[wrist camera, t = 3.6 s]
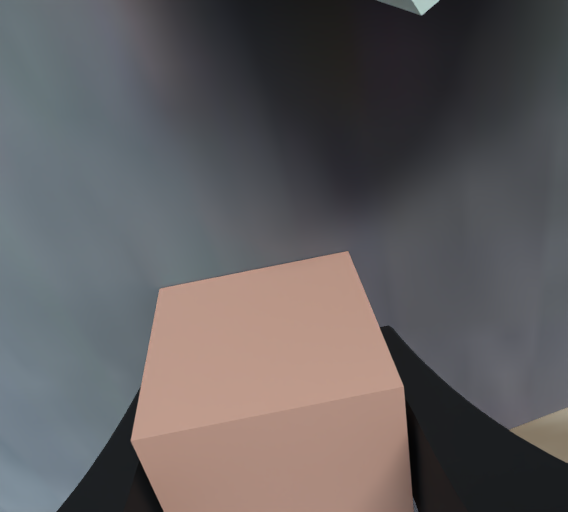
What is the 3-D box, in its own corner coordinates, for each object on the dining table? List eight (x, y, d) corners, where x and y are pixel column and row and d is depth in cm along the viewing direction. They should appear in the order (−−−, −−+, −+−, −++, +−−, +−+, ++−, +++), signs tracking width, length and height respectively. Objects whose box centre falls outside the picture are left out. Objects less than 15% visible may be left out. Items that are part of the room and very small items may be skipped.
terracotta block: (348, 251, 14) (403, 386, 10) (366, 389, 16) (416, 546, 12) (159, 288, 14) (130, 441, 10) (206, 421, 16) (200, 589, 12)
